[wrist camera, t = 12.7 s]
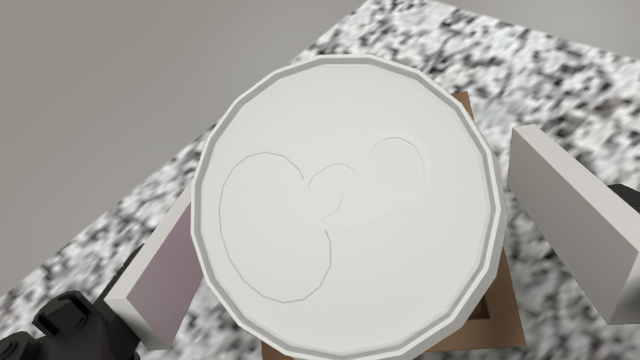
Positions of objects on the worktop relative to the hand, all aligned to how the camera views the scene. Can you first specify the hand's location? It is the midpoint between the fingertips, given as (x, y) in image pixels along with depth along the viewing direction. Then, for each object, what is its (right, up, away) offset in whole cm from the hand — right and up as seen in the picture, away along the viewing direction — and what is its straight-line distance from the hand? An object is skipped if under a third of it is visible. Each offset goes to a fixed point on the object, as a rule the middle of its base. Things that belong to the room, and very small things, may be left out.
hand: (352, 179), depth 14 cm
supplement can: (+2, -3, +8) cm, 8 cm away
